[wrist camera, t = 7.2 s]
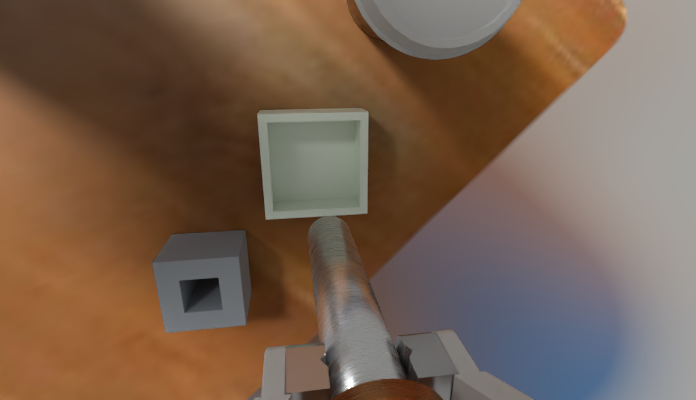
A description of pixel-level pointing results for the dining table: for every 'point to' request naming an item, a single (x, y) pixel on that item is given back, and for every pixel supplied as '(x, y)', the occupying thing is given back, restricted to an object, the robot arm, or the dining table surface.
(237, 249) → the pin block
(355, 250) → the pin
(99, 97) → the dining table surface
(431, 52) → the disposable coffee cup
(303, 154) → the tray
